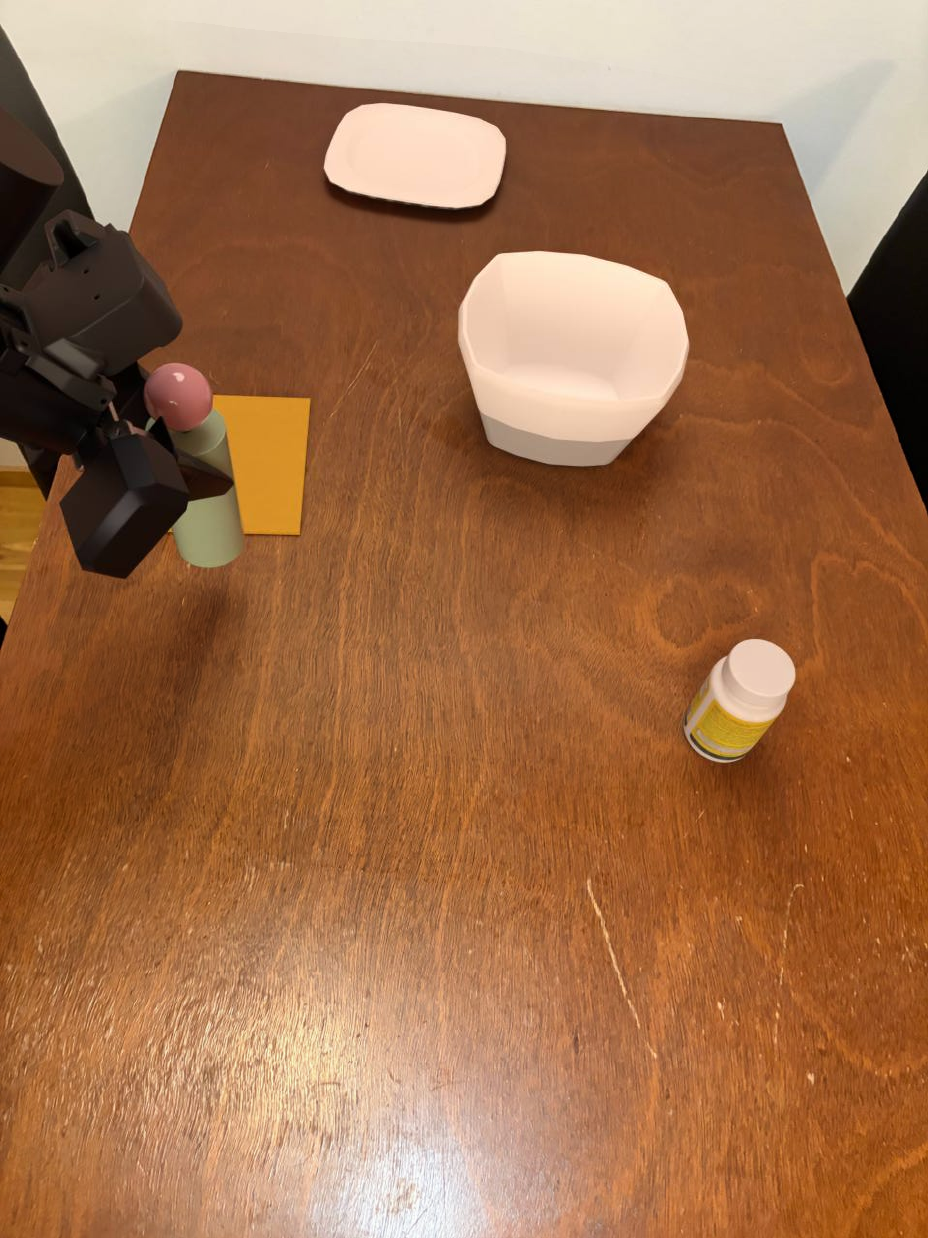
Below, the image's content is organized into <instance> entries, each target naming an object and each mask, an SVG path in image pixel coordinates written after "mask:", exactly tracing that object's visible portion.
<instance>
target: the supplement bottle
mask: <svg viewBox="0 0 928 1238" xmlns="http://www.w3.org/2000/svg"><path fill="white" fill-rule="evenodd" d="M795 681H796V668H795V665H794V662H793V660H792V659H791V657H790V656H789V654H788V653H787V652H786V651H785V650H784V649H782V647H780V646H779V645H777V644H775V643H773V642H771V641H769V640H765V639H759V638H749V639H746V640H743V641H740V642H739V643H737V644H736V645H735V646H733V648H731V650H730V652H729V653H728V655H725V656H724V657H722V658H721V659H719V660H718V661H717V662H716V663H715V664H714V665H713V667H712V668H711V670H710V672H709V673H708V675H707V676H706V678H705V680H704V682H703V683H702V685H701V687H700V688H699V690H698V691H697V693H696V695H695V696H694V698H693V700H692V701H691V703H690V704H689V706H688V708H687V709H686V712H685V714H684V716H683V721H682V722H683V724H682V725H683V732H684V736H685V737H686V739H687V742H688V743H689V744H690V746H691V747H692V748H693V750H695V752H697V753H698V754H699V755H700V756H702V757H704V758H705V759H707V760H710V761H713V762H716V763H722V764H723V763H724V764H725V763H732V762H733V763H734V762H737V761H739V760H741V759H743V758H744V757H746V756H747V755H748V754H749V753H750V752H751V751H752V749H753V748H754V746H756V744H757V743H758V742H759V740H760V739H761V738H762V737H763V735H764V734H765V733H766V731H767V730H768V729H769V728H770V726H772V724H773V722H774V721H775V720H776V719H777V718H778V717H779V715H780V714H781V713H782V711H783V710H784V708H785V705H786V703H787V699H788V694H789V692H790V691H791V689H792V687H793V686H794V684H795Z"/></svg>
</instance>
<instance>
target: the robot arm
mask: <svg viewBox="0 0 928 1238" xmlns="http://www.w3.org/2000/svg"><path fill="white" fill-rule="evenodd" d="M64 175H65V173H64V171H63V169H62V166H61V165H60V163H59V162H58V160H57V159H56V158H55V156H54V154H53V153H52V152H51V151H50V149H48V147H47V146H46V145H45V144H44V143H43V142H42V141H41V140H40V138H38V136H36V135H35V134H34V133H33V131H31V129H30V128H28V127H27V126H26V125H25V124H24V123H22V121H20V120H19V119H18V118H16V116H14V115H13V114H12V113H11V112H10V111H8V110H7V109H6V108H4V107H3V106H2V105H0V276H1V275H2V273H3V272H4V271H5V270H6V267H7V266H8V264H9V263H10V261H11V260H12V259H13V257H14V255H15V253H16V252H17V251H18V249H19V248H20V246H21V245H22V244H23V242H24V241H25V239H26V237H27V236H28V234H29V233H30V231H32V229H33V227H34V226H35V224H36V223H37V221H38V220H39V218H40V217H41V215H42V214H43V212H44V211H45V209H46V208H47V206H48V205H49V203H50V202H51V200H52V199H53V198H54V196H55V194H56V193H57V191H58V190H59V188H60V187H61V185H62V184H63V182H64V181H65V177H64ZM44 230H45V234H46V237H47V240H48V241H47V242H48V245H49V248H50V252H51V254H52V257H53V259H49V260H44V261H43V260H42V261H41V262H40V264H39V265H38V267H37V268H36V270H35V271H34V272H33V274H32V275H31V277H30V279H29V280H28V281H27V282H26V284H25V286H24V287H23V289H22V290H21V291H19V290H16V289H14V288H13V287H11V286H8V285H6V284H4V283H0V439H3V440H6V441H8V442H12V443H15V444H18V445H21V446H23V449H24V453H25V455H26V458H27V459H26V460H27V462H28V465H29V467H32V468H35V469H37V470H41V471H43V472H47V473H50V471H51V470H52V469H53V467H54V466H55V465H56V464H57V462H58V461H59V459H60V458H61V457H62V456H63V455H65V456H68V457H69V456H71V459H72V462H73V465H74V468H75V470H76V471H77V472H80V473H81V475H80V476H79V477H78V478H77V479H76V481H74V483H73V485H72V486H71V487H70V488H69V489H68V491H67V492H66V493H65V494H64V496H63V497H61V499H60V501H59V502H58V505H59V508H60V510H61V515H62V517H63V521H64V523H65V526H66V529H67V532H68V535H69V539H70V542H71V544H72V548H73V551H74V555H75V556H76V559H77V561H78V564H79V566H80V568H81V571H83V572H87V573H88V572H89V573H93V574H97V575H102V576H105V577H111V578H115V579H121V580H127V579H128V577H129V576H130V575H131V574H133V572H134V571H135V570H136V568H137V567H138V566H139V565H140V564H141V563H142V562H143V560H144V559H145V558H147V556H148V555H149V554H150V553H151V551H152V550H153V549H154V548H155V547H156V546H157V545H158V543H160V541H161V540H162V539H163V538H164V536H166V534H167V533H169V532H168V531H169V530H170V529H171V527H172V526H173V525H174V524H175V523H176V522H177V521H178V519H179V518H180V517H181V516H182V515H183V514H184V513H185V512H186V510H187V506H188V502H190V501H196V500H201V499H206V498H211V497H217V496H222V495H225V494H226V493H227V492H228V491H229V490H230V489H231V488H232V486H233V485H234V481H233V479H232V478H231V477H230V476H228V475H226V474H225V473H223V472H222V471H220V470H218V469H217V468H215V467H213V466H211V465H209V464H207V463H206V462H204V461H202V460H200V459H198V458H196V457H194V456H192V455H190V454H188V453H187V452H185V451H183V450H181V449H179V448H177V447H176V446H175V444H174V441H173V439H172V436H171V434H170V432H169V429H168V427H167V425H166V422H165V420H164V418H163V417H162V416H160V417H159V418H158V419H157V420H156V421H155V423H154V424H153V425H152V426H151V428H150V429H149V430H148V431H145V428H146V425H147V423H148V421H149V419H150V418H151V416H150V415H149V413H148V412H147V410H146V407H145V404H144V399H143V390H144V385H145V383H146V380H147V378H148V377H149V375H150V374H151V373H150V372H149V371H148V370H147V369H145V368H144V366H142V365H141V364H140V363H139V362H138V361H139V360H140V359H142V358H143V357H145V356H146V355H148V354H150V353H151V352H152V351H154V350H156V349H157V348H165V347H167V346H168V345H170V344H171V343H173V342H174V341H175V340H176V339H177V338H178V337H179V336H180V334H181V332H182V330H183V326H184V321H183V318H182V316H181V314H180V312H179V310H178V309H177V307H176V305H175V303H174V301H173V299H172V297H171V294H170V293H169V291H168V286H167V284H166V282H165V281H164V280H163V278H161V276H160V275H159V274H158V273H157V271H156V270H155V269H154V268H153V267H152V265H151V264H150V263H149V262H148V260H146V258H145V257H144V256H143V254H142V253H141V252H140V251H139V250H138V248H137V247H136V246H135V243H134V240H133V239H132V237H131V235H130V234H129V232H127V231H126V230H120V229H119V230H118V229H116V227H115V226H114V225H113V224H112V223H111V222H109V223H108V224H106V225H103V224H101V223H100V222H98V221H97V220H93V219H92V218H89V217H87V216H85V215H82V214H81V213H78V212H76V211H73V210H72V209H69V208H68V209H67V208H66V209H64V210H63V211H61V212H60V213H58V214H57V215H55V216H54V217H53V218H51V219H49V220H48V221H47V222H45V224H44Z"/></svg>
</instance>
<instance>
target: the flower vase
mask: <svg viewBox="0 0 928 1238" xmlns="http://www.w3.org/2000/svg"><path fill="white" fill-rule="evenodd" d="M213 395H214V393H213V389H212V386H211V384H210V382H209V380H208V378H207V377H206V376H205V375H204V374H203V373H202V372H201V371H200V370H198V369H197V368H196V367H194V366H192V365H189V364H186V363H182V362H168V363H165V364H162V365H160V366H158V367H157V368H155V369H154V370H153V371H152V372H151V373H150V375H149V377H148V378H147V380H146V383H145V385H144V390H143V399H144V404H145V407H146V410H147V412H148V413H149V415H150V416H151V418H150V419H149V421H148V423H147V425H146V428H145V431H148V430H149V429H150V428H151V426H152V425H153V424H154V423H155V421H156V420H157V419H158V418H159V417H160V416H162V417H163V418H164V420H165V422H166V425H167V427H168V429H169V432H170V434H171V436H172V439H173V441H174V444H175V446H176V447H177V448H179V449H181V450H183V451H185V452H187V453H188V454H190V455H192V456H194V457H196V458H198V459H200V460H202V461H204V462H206V463H207V464H209V465H211V466H213V467H215V468H217V469H218V470H220V471H222V472H223V473H225V474H226V475H228V476H230V477H231V478H232V479H233V481H234V485H233V486H232V488H231V489H230V490H229V491H228V492H227V493H226V494H225V495H222V496H217V497H211V498H206V499H201V500H196V501H190V502H188V506H187V510H186V512H185V513H184V514H183V515H182V516H181V517H180V518H179V519H178V521H177V522H176V523H175V524H174V525H173V526H172V527H171V529H172V532H171V533H172V535H173V539H174V543H175V546H176V549H177V552H178V554H179V555H180V557H181V558H182V559H183V560H184V561H185V562H187V563H188V564H191V565H193V566H195V567H199V568H205V569H206V568H207V569H208V568H210V569H211V568H212V569H213V568H217V567H222V566H224V565H227V564H229V563H231V562H232V561H234V560H235V559H236V558H238V557H239V556H240V554H241V553H242V552H243V550H244V548H245V545H246V540H247V537H246V534H245V530H244V525H243V519H242V513H241V508H240V502H239V496H238V490H237V485H236V479H235V473H234V468H233V462H232V456H231V451H230V445H229V439H228V433H227V428H226V423H225V420H224V418H223V417H222V415H221V414H220V413H219V412H218V411H217V410H215V409H214V408H212V407H213Z"/></svg>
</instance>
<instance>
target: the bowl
mask: <svg viewBox="0 0 928 1238" xmlns="http://www.w3.org/2000/svg"><path fill="white" fill-rule="evenodd" d="M457 312H458V313H457V343H458V345H459V346H458V347H459V350H460V353H461V356H462V359H463V363H464V366H465V369H466V373H467V376H468V379H469V381H470V384H471V388H472V392H473V395H474V399H475V403H476V406H477V409H478V411H479V415H480V417H481V421H482V425H483V429H484V432H485V436H486V440H487V441H488V443H489V444H490V445H491V446H493V447H494V448H498V449H500V450H502V451H504V452H507V453H508V454H512V455H514V456H516V457H521V458H524V459H528V460H531V461H535V462H539V463H543V464H546V465H556V466H569V467H571V466H572V467H592V466H593V467H594V466H595V467H596V466H606V465H609V464H611V463H612V462H613V461H614V460H615V459H616V458H617V457H618V456H619V455H620V454H621V453H622V452H623V451H624V450H625V449H626V447H627V446H628V445H630V443H631V442H632V441H633V440H634V439H635V438H636V437H637V436H638V435H639V434H640V433H641V432H642V430H644V429H645V427H647V426H648V424H649V423H650V422H651V421H652V420H653V419H654V418H655V417H656V416H657V415H658V414H659V413H660V411H661V410H663V408H664V407H665V406H666V405H667V403H668V402H669V400H670V399H671V397H672V395H674V393H675V391H676V389H677V388H678V386H679V385H680V384H681V382H682V381H683V377H684V373H685V370H686V365H687V361H688V356H689V352H690V340H689V336H688V330H687V326H686V320H685V315H684V312H683V309H682V308H681V306H680V304H679V302H678V300H677V298H676V296H675V294H674V293H673V291H672V289H671V287H670V285H669V283H668V282H666V281H665V280H663V279H661V278H659V277H656V276H654V275H651V274H649V273H646V272H644V271H642V270H638V269H637V268H635V267H632V266H630V265H626V264H622V263H619V262H613V261H610V260H606V259H602V258H598V257H594V256H590V255H586V254H579V253H578V254H577V253H567V252H556V251H541V250H535V251H533V250H532V251H518V252H507V253H506V252H505V253H498V254H497V255H495V256H494V257H493V258H492V259H491V260H490V262H488V263H487V265H485V267H484V268H483V269H482V270H481V271H480V272H479V273H478V274H477V275H476V276H475V277H474V278H473V279H472V282H471V284H470V285H469V288H468V290H467V291H466V294H465V296H464V298H463V300H462V302H461V303H460V306H459V308H458V310H457Z"/></svg>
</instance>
